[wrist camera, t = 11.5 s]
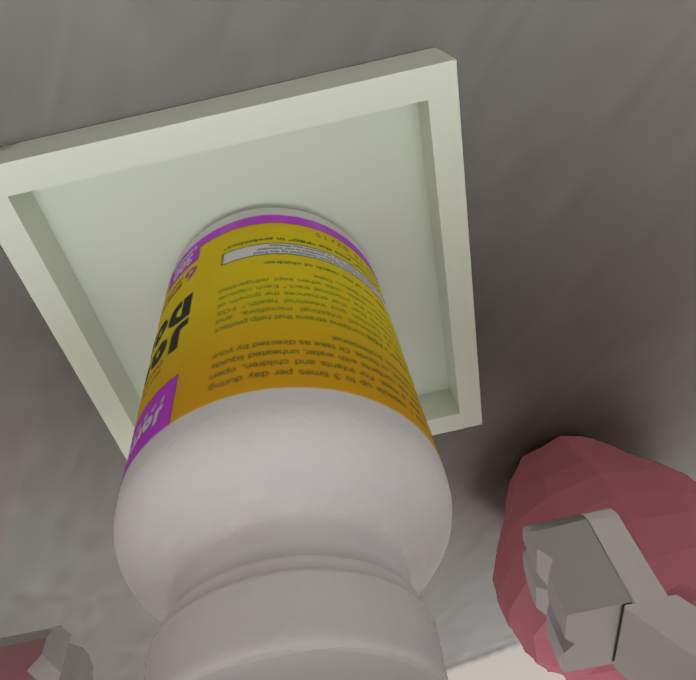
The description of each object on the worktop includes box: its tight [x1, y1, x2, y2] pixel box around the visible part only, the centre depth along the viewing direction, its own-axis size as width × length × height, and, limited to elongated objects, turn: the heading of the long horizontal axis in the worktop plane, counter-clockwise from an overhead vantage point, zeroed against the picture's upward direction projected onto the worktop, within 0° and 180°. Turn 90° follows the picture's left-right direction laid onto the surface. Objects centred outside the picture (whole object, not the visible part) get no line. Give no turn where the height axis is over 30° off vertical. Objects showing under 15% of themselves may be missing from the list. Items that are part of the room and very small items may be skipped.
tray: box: [0, 47, 482, 459], centre depth 19 cm, size 13×13×2 cm
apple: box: [493, 436, 696, 680], centre depth 23 cm, size 10×9×10 cm
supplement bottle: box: [113, 208, 452, 680], centre depth 14 cm, size 7×7×13 cm
